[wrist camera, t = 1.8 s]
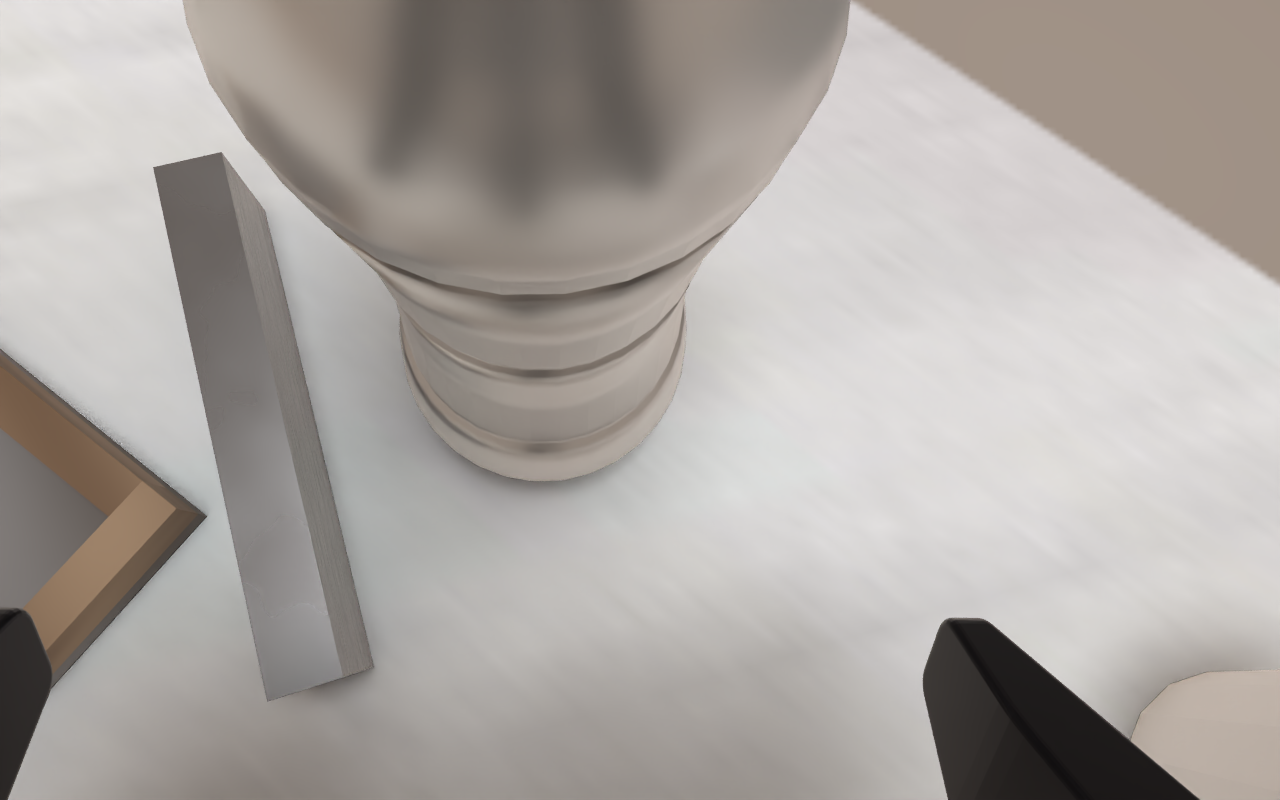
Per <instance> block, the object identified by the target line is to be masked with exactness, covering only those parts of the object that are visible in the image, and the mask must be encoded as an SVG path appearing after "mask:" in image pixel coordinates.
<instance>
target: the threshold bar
mask: <svg viewBox="0 0 1280 800" xmlns="http://www.w3.org/2000/svg"><path fill="white" fill-rule="evenodd" d="M153 168H154V173H155V178H156V182H157V187H158V192H159V196H160V201H161V206H162V210H163V215H164V220H165V225H166V229H167V234H168V239H169V243H170V248H171V253H172V257H173V262H174V267H175V271H176V276H177V281H178V285H179V290H180V295H181V299H182V304H183V309H184V314H185V318H186V323H187V328H188V332H189V337H190V342H191V346H192V351H193V356H194V360H195V365H196V370H197V374H198V379H199V384H200V388H201V393H202V398H203V403H204V407H205V412H206V417H207V421H208V426H209V431H210V435H211V440H212V445H213V449H214V454H215V459H216V463H217V468H218V473H219V477H220V482H221V487H222V491H223V496H224V501H225V506H226V510H227V515H228V520H229V524H230V529H231V534H232V538H233V543H234V548H235V552H236V557H237V562H238V566H239V571H240V576H241V580H242V585H243V590H244V595H245V599H246V604H247V609H248V613H249V618H250V623H251V627H252V632H253V637H254V641H255V646H256V651H257V655H258V660H259V665H260V669H261V674H262V679H263V683H264V688H265V693H266V698H267V702H268V701H271V700H274V699H277V698H280V697H284V696H287V695H290V694H293V693H296V692H299V691H303V690H306V689H309V688H312V687H315V686H318V685H321V684H325V683H328V682H331V681H334V680H337V679H340V678H343V677H346V676H349V675H352V674H355V673H358V672H361V671H364V670H367V669H370V668H373V667H374V666H373V662H372V658H371V654H370V649H369V645H368V641H367V637H366V633H365V628H364V624H363V620H362V616H361V612H360V607H359V603H358V599H357V595H356V591H355V587H354V582H353V578H352V574H351V570H350V566H349V561H348V557H347V553H346V549H345V545H344V540H343V536H342V532H341V528H340V524H339V520H338V515H337V511H336V507H335V503H334V499H333V494H332V490H331V486H330V482H329V478H328V473H327V469H326V465H325V461H324V457H323V453H322V448H321V444H320V440H319V436H318V432H317V427H316V423H315V419H314V415H313V411H312V406H311V402H310V398H309V394H308V390H307V386H306V381H305V377H304V373H303V369H302V365H301V360H300V356H299V352H298V348H297V344H296V339H295V335H294V331H293V327H292V323H291V319H290V314H289V310H288V306H287V302H286V298H285V293H284V289H283V285H282V281H281V277H280V272H279V268H278V264H277V260H276V256H275V252H274V247H273V243H272V239H271V235H270V231H269V226H268V222H267V218H266V214H265V210H264V209H263V207H262V206H261V205H260V203H259V202H258V201H257V199H256V198H255V197H254V195H253V194H252V193H251V191H250V190H249V189H248V187H247V186H246V185H245V183H244V182H243V180H242V179H241V178H240V176H239V175H238V174H237V172H236V171H235V170H234V168H233V167H232V166H231V164H230V163H229V162H228V160H227V159H226V158H225V156H224V155H223V154H222V152H221V153H216V154H212V155H207V156H203V157H198V158H193V159H189V160H184V161H180V162H175V163H171V164H166V165H162V166H157V167H153Z"/></svg>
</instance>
